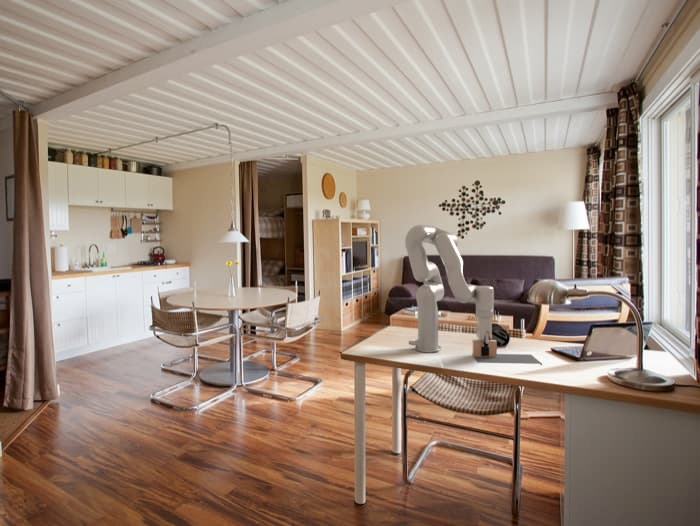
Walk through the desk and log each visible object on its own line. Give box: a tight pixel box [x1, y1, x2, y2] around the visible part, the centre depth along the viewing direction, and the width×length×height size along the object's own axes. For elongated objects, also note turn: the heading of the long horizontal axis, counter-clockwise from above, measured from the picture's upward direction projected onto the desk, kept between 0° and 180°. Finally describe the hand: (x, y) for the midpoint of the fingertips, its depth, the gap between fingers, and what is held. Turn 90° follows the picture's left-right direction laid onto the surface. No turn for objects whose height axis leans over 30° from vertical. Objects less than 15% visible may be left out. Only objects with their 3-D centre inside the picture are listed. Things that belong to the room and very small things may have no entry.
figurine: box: [491, 322, 511, 347], centre depth 208 cm, size 9×9×20 cm
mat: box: [471, 353, 543, 366], centre depth 178 cm, size 26×14×1 cm, turn 83°
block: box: [472, 339, 498, 358], centre depth 182 cm, size 10×2×7 cm, turn 83°
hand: (484, 354), depth 182 cm, fingers closed on block, 2 cm apart
